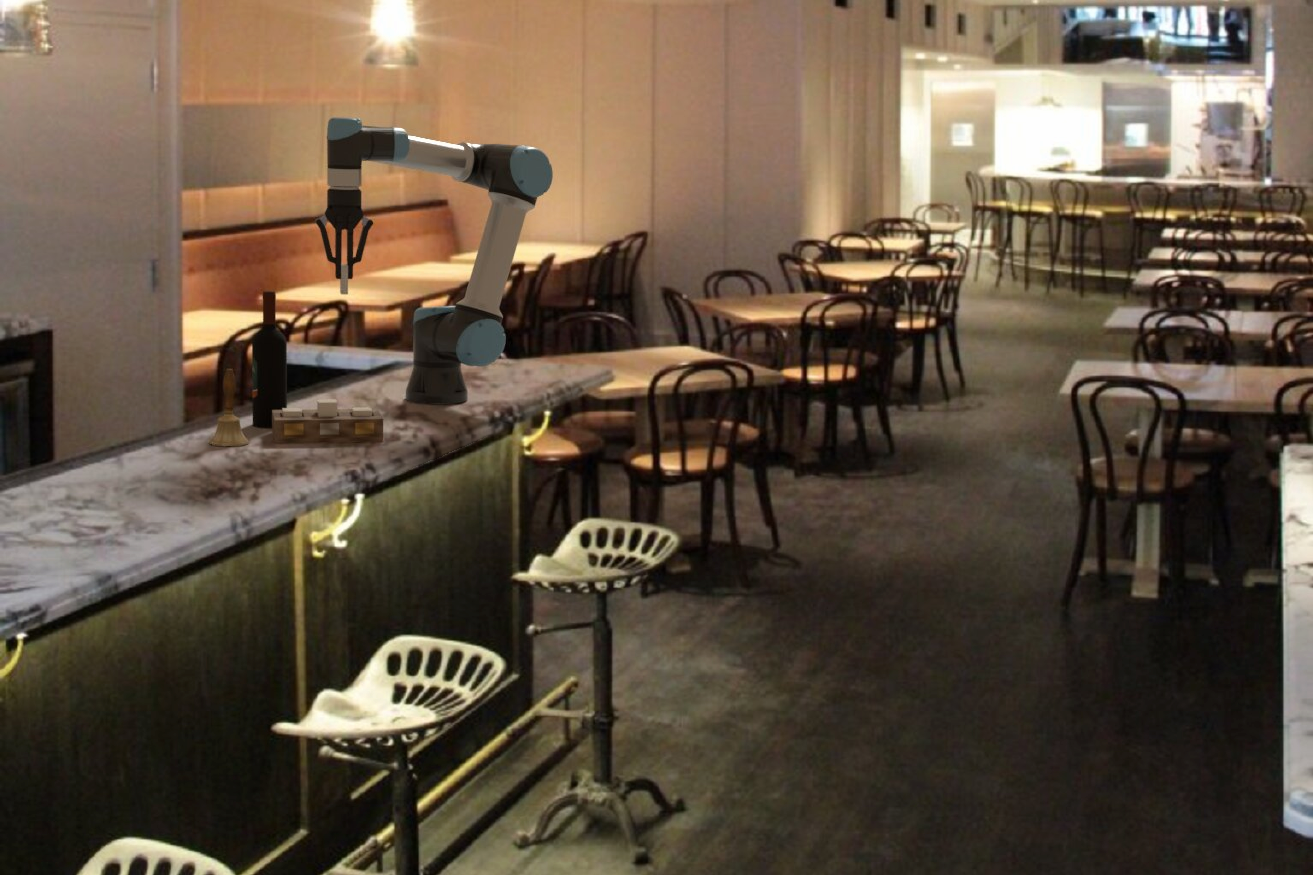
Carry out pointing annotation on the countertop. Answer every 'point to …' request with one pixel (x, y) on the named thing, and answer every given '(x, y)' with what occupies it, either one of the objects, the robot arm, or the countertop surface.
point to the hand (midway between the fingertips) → (344, 293)
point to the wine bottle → (268, 366)
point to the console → (327, 427)
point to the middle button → (326, 407)
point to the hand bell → (229, 418)
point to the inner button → (361, 411)
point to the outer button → (291, 412)
